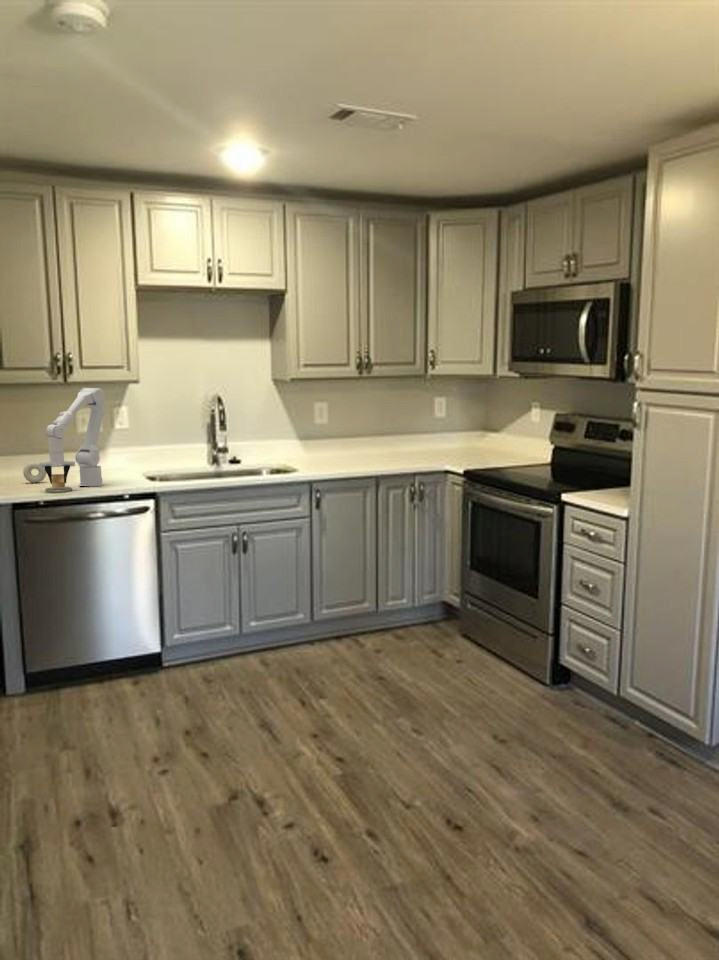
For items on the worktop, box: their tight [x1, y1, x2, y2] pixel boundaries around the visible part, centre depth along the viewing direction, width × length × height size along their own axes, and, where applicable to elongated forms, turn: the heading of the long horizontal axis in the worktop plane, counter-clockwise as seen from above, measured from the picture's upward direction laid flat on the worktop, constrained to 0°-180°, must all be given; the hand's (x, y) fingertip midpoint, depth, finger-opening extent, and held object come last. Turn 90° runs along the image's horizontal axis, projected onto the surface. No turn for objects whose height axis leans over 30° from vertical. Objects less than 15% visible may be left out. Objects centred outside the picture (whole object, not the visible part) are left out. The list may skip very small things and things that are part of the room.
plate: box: [44, 486, 73, 494], centre depth 346 cm, size 11×11×1 cm
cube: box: [51, 473, 66, 488], centre depth 345 cm, size 5×5×5 cm
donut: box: [22, 461, 47, 484], centre depth 366 cm, size 10×4×10 cm, turn 108°
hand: (58, 483), depth 345 cm, fingers closed on cube, 5 cm apart
